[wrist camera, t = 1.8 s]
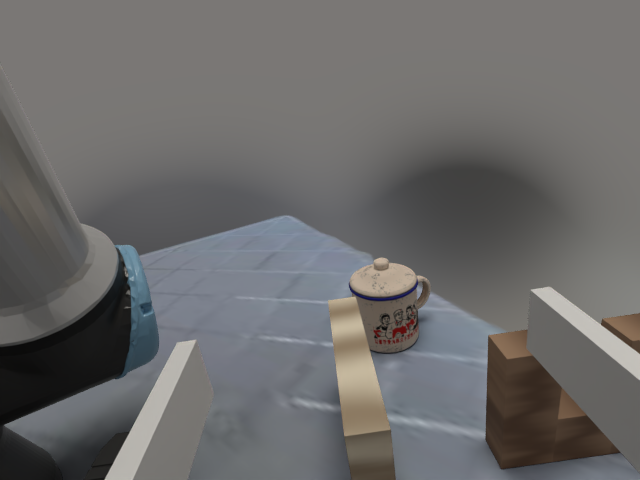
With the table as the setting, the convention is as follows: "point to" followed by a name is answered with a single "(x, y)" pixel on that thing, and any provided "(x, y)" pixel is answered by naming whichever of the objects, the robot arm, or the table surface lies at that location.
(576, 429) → the brown wooden u block
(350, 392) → the birch board
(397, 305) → the teacup with lid
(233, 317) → the table surface
